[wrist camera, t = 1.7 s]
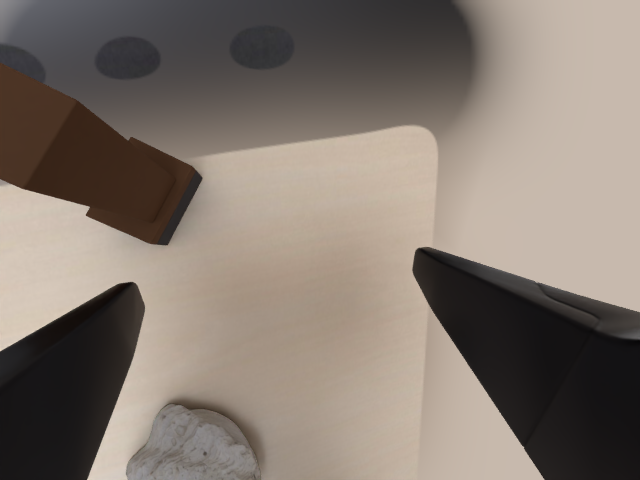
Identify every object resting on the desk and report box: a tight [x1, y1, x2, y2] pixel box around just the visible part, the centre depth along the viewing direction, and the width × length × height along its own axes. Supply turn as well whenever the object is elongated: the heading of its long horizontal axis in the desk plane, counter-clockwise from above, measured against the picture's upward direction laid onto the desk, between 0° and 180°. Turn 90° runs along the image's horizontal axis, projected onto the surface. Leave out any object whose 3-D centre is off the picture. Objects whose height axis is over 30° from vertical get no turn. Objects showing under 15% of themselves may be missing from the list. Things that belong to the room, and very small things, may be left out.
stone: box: [126, 404, 261, 480], centre depth 20 cm, size 10×5×10 cm
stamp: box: [0, 63, 202, 245], centre depth 15 cm, size 6×4×13 cm
